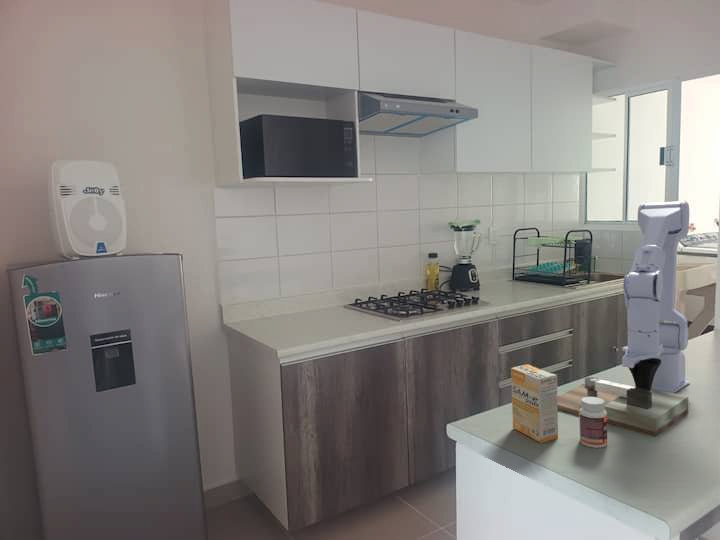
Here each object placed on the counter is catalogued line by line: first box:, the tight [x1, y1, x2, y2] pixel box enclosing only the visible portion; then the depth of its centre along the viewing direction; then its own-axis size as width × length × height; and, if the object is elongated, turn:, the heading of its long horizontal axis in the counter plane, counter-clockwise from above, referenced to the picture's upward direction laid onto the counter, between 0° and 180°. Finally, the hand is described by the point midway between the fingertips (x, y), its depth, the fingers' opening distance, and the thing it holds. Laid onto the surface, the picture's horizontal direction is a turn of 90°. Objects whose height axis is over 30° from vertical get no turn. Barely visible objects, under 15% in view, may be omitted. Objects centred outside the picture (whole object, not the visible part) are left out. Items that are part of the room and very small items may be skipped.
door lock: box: [557, 383, 689, 437], centre depth 111 cm, size 16×23×6 cm
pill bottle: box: [578, 397, 608, 449], centre depth 96 cm, size 5×5×8 cm
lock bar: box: [584, 376, 652, 398], centre depth 110 cm, size 14×3×2 cm, turn 39°
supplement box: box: [510, 363, 559, 444], centre depth 102 cm, size 8×5×13 cm, turn 23°
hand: (643, 392), depth 107 cm, fingers closed
